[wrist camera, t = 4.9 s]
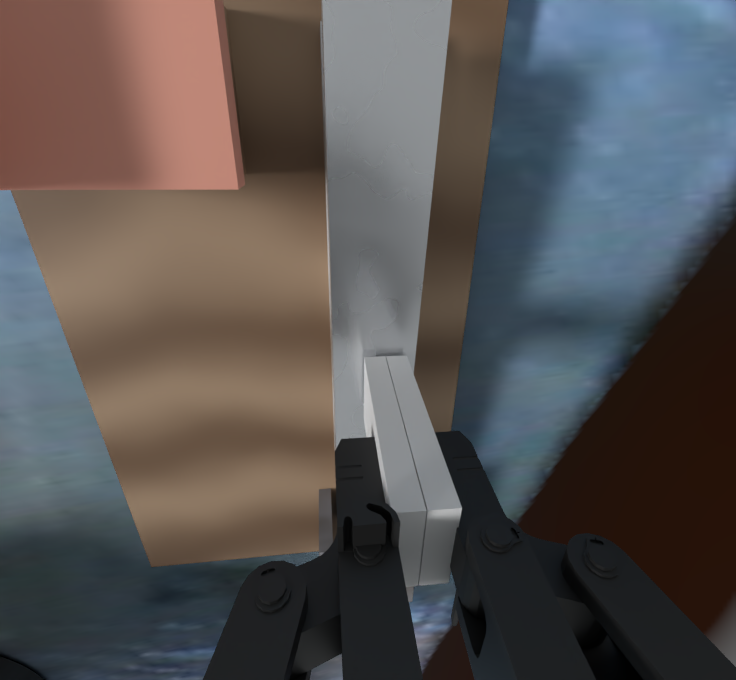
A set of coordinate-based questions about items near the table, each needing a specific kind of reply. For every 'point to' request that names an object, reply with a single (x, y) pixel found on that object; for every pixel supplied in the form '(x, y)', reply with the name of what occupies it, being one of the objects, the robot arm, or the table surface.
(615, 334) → the table surface
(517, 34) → the table surface
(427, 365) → the brown piece
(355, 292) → the tong arm
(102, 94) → the bracket
